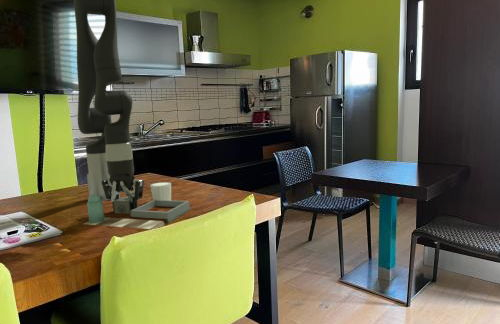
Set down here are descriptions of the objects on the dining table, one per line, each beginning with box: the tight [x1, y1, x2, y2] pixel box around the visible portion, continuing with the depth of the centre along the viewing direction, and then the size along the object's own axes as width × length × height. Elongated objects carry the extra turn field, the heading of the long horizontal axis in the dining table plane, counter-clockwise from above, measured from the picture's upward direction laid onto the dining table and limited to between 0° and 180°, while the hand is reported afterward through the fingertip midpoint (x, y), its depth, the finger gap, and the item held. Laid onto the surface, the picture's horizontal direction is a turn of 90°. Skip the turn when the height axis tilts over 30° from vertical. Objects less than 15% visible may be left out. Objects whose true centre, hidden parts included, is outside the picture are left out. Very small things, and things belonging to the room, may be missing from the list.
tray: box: [130, 199, 191, 224], centre depth 112 cm, size 12×12×3 cm
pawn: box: [86, 194, 105, 224], centre depth 105 cm, size 4×4×8 cm
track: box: [83, 216, 165, 230], centre depth 103 cm, size 22×7×1 cm, turn 71°
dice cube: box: [113, 196, 139, 215], centre depth 115 cm, size 5×5×5 cm
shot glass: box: [149, 181, 172, 201], centre depth 125 cm, size 7×7×7 cm
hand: (125, 212), depth 114 cm, fingers closed on dice cube, 5 cm apart
